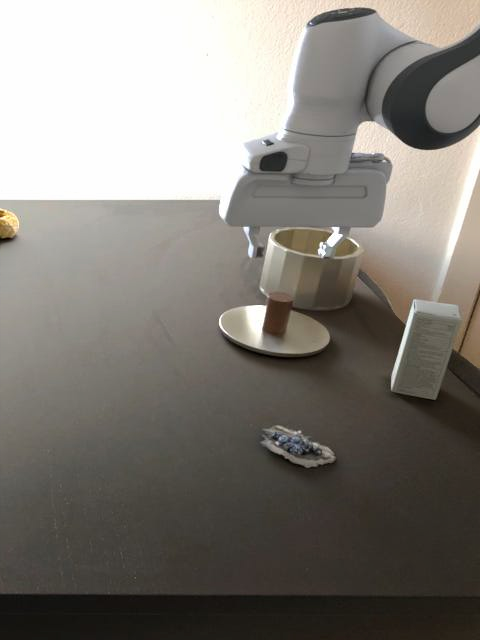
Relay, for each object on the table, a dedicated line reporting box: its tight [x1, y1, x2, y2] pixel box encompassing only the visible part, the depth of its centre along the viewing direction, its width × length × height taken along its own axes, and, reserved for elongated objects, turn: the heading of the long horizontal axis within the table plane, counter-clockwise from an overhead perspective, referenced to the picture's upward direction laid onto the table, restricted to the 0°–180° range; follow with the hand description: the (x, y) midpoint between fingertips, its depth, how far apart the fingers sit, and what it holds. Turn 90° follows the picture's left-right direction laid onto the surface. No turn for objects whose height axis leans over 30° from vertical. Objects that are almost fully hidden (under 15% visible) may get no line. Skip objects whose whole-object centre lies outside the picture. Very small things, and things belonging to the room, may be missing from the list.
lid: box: [218, 292, 331, 358], centre depth 103 cm, size 15×15×6 cm
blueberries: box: [259, 425, 337, 469], centre depth 80 cm, size 7×8×2 cm
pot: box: [259, 227, 365, 312], centre depth 116 cm, size 14×14×8 cm
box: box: [390, 298, 463, 401], centre depth 90 cm, size 5×4×11 cm
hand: (290, 257), depth 99 cm, fingers open, 8 cm apart
